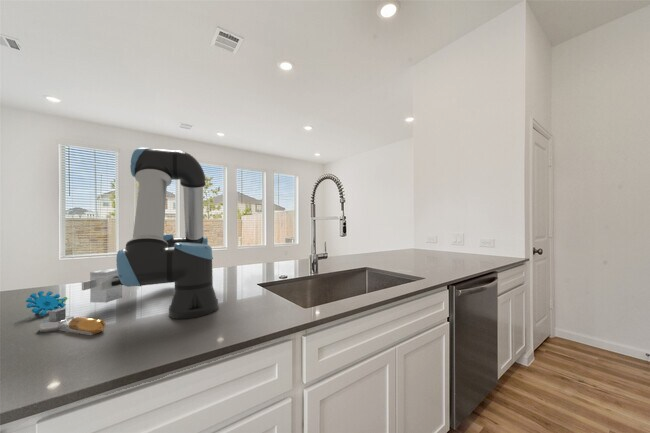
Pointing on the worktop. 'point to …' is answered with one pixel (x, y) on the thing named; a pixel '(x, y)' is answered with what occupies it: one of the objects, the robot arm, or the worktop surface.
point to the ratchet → (71, 323)
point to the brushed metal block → (106, 294)
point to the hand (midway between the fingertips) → (92, 286)
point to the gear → (45, 302)
